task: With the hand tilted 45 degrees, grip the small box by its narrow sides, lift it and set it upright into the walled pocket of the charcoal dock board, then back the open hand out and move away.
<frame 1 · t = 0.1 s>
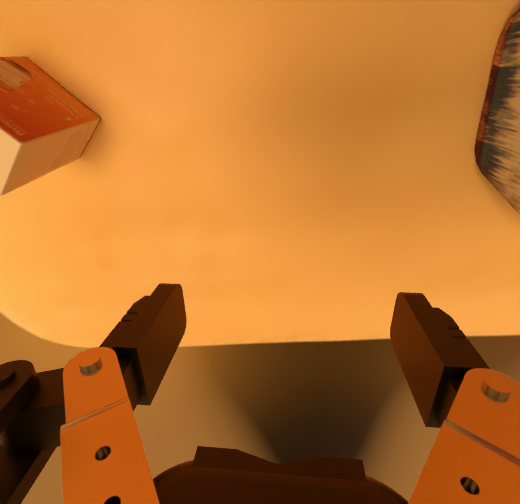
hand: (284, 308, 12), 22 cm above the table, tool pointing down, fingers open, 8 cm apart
small box: (55, 110, 31), on the table
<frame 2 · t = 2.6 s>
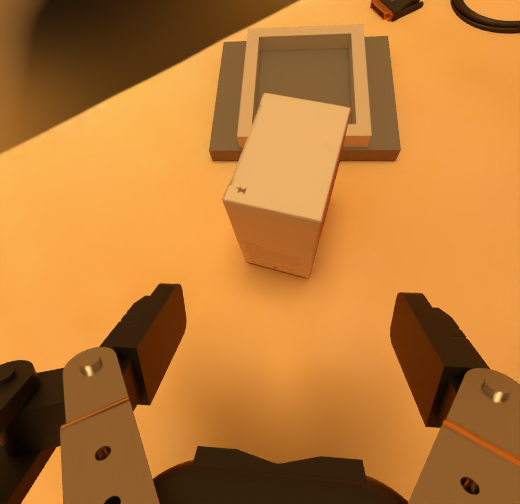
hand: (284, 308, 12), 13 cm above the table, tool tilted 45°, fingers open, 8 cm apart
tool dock: (302, 102, 32), on the table
small box: (288, 229, 28), on the table
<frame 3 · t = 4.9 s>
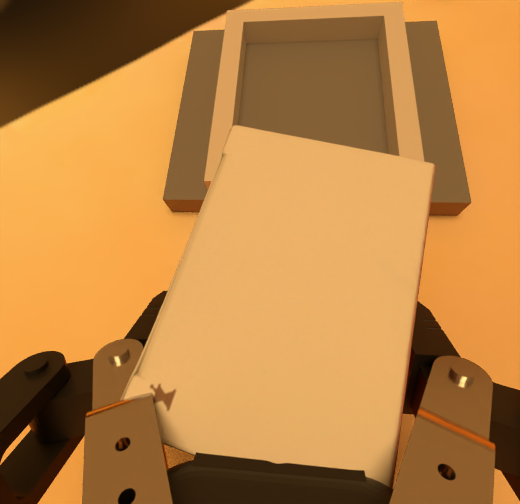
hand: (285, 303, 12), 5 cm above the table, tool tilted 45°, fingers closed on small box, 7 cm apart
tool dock: (308, 120, 21), on the table
small box: (288, 331, 17), on the table, touching gripper
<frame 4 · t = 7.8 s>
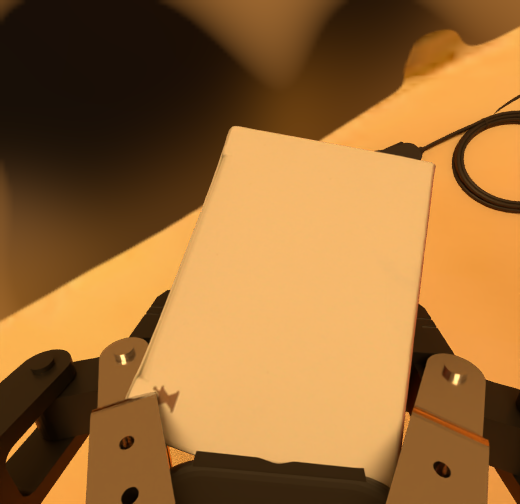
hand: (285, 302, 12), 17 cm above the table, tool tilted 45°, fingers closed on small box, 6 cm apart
cable: (509, 156, 34), on the table
small box: (289, 331, 17), point 12 cm above the table, touching gripper
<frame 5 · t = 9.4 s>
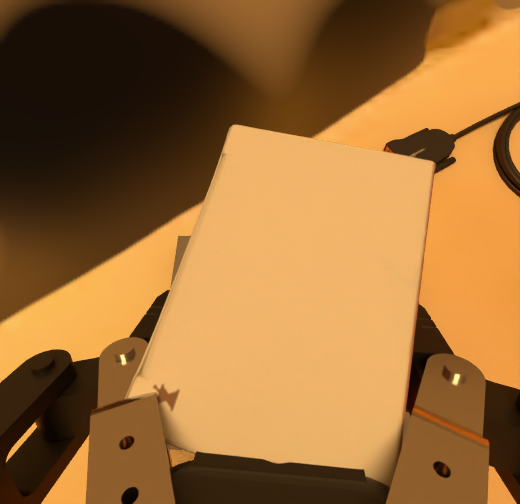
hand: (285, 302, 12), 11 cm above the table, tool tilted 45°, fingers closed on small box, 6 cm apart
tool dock: (288, 337, 22), on the table
small box: (289, 331, 17), point 6 cm above the table, touching gripper
when the fingers open (8 cm above the table, at t = 10.5 s): small box drops 1 cm, resting on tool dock.
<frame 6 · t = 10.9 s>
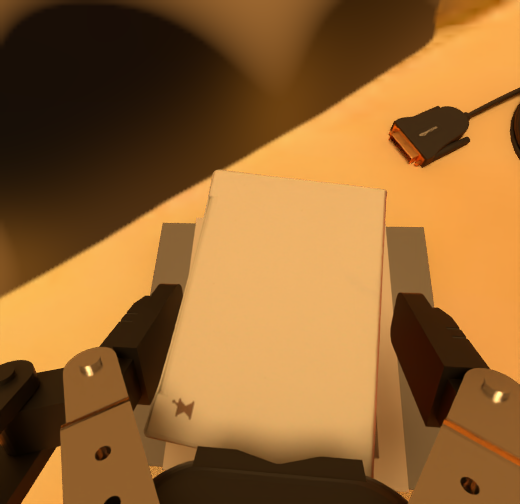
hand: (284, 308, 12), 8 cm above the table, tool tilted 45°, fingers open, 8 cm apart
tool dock: (285, 337, 20), on the table
small box: (282, 336, 18), point 1 cm above the table, touching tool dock
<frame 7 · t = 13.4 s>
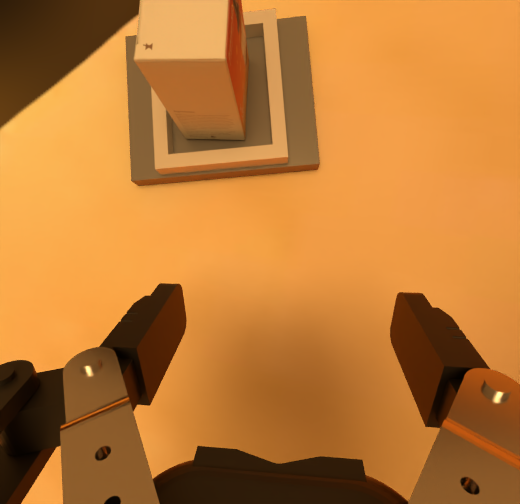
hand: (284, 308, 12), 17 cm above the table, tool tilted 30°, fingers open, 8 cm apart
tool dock: (222, 106, 30), on the table
small box: (218, 100, 29), point 1 cm above the table, touching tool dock
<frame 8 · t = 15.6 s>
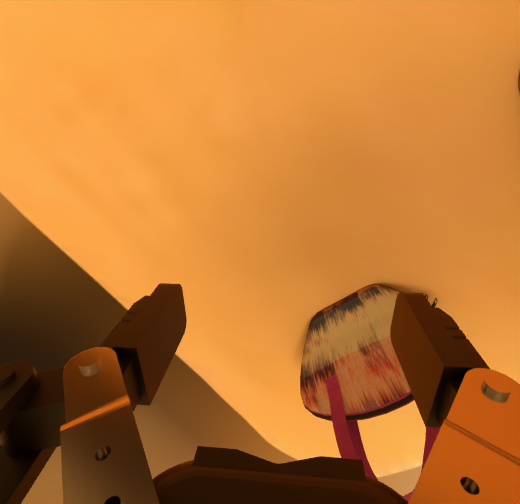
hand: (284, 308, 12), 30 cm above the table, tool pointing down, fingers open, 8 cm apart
handbag: (359, 320, 48), on the table
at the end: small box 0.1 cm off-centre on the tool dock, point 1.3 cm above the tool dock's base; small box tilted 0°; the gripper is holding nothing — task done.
